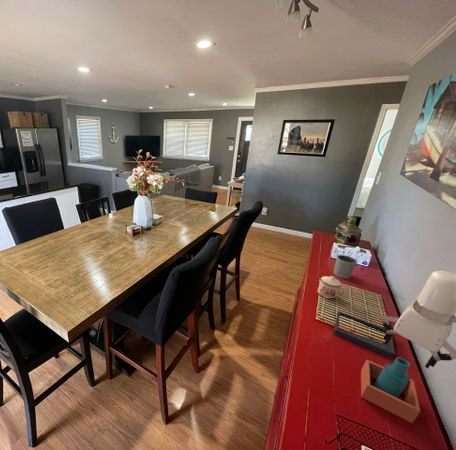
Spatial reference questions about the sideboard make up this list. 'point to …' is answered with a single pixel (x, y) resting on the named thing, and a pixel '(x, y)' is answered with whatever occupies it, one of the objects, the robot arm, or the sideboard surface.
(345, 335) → the dark gray rectangular frame
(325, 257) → the sideboard surface
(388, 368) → the bottle
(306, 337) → the sideboard surface
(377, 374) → the bin
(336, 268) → the grey cup
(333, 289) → the teacup with lid
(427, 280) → the robot arm
